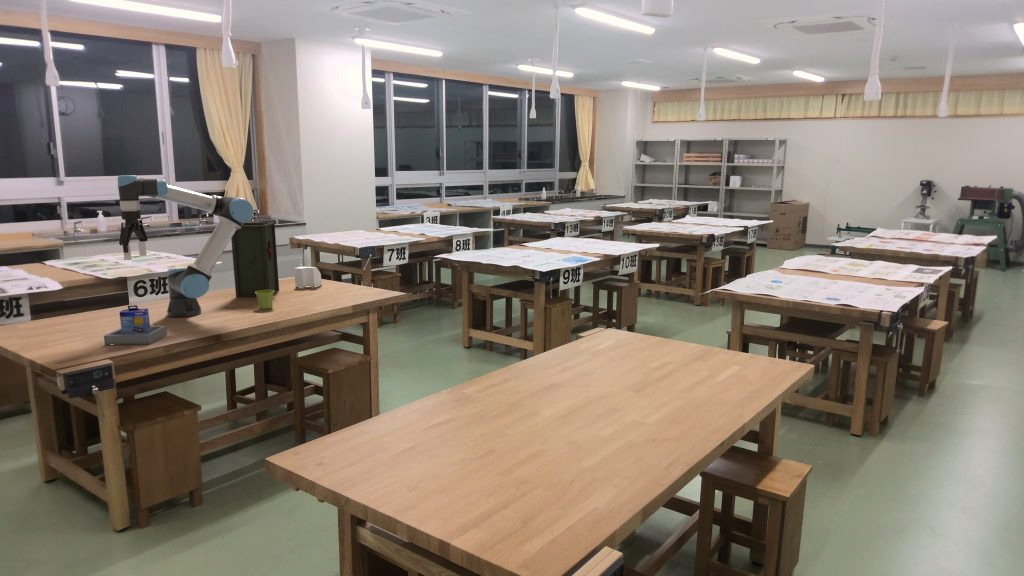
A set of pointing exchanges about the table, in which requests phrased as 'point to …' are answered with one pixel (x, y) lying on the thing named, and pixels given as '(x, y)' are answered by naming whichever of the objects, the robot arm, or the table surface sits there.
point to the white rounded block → (307, 276)
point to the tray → (135, 337)
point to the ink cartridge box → (134, 321)
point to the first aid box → (255, 259)
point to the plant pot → (265, 298)
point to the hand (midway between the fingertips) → (135, 257)
